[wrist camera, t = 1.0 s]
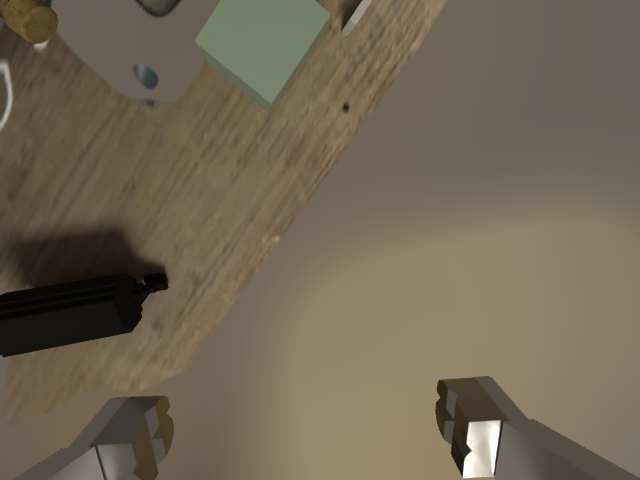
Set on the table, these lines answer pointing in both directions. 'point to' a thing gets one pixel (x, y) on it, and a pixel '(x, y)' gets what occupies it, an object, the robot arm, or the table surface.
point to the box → (356, 17)
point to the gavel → (29, 19)
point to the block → (261, 43)
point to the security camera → (73, 312)
